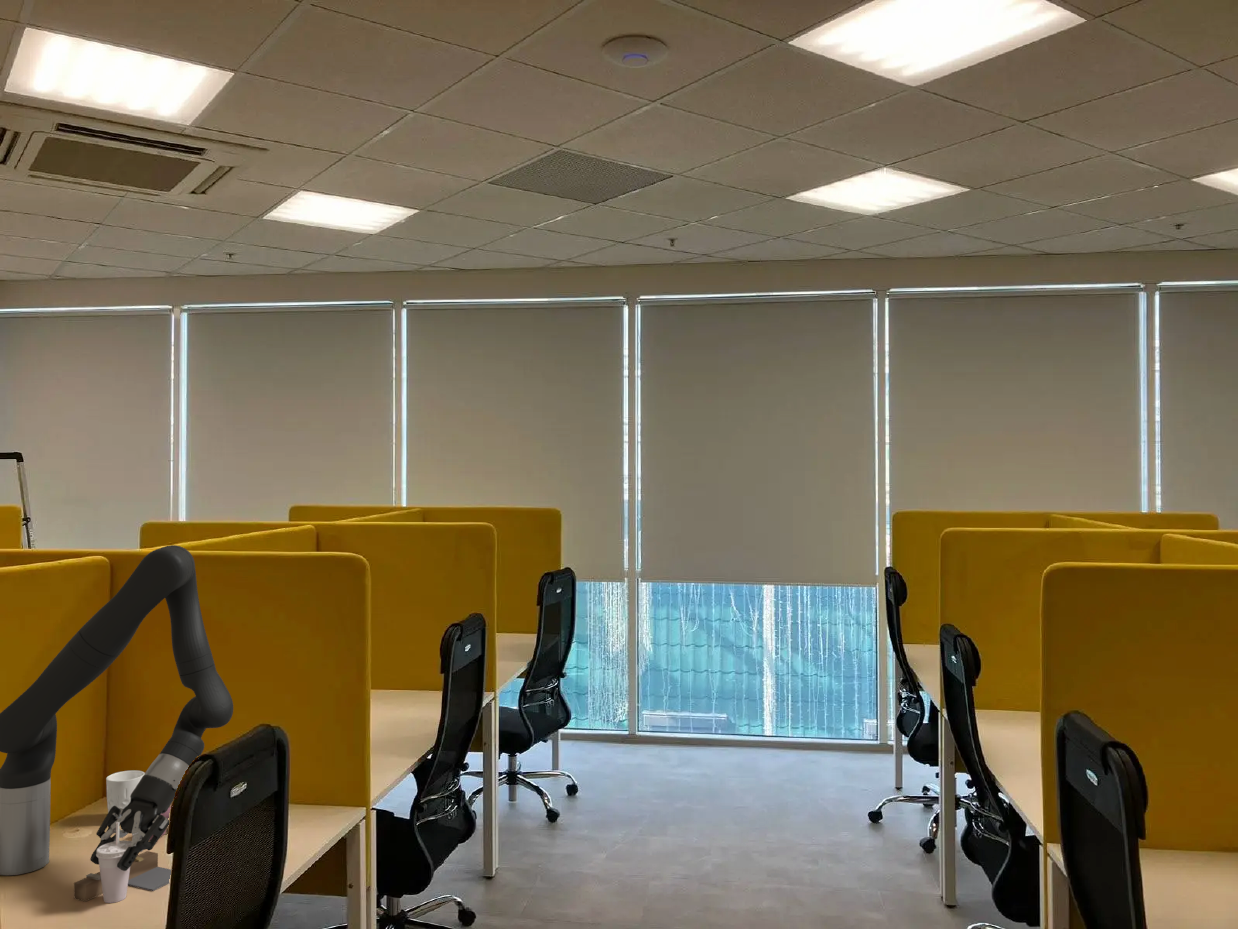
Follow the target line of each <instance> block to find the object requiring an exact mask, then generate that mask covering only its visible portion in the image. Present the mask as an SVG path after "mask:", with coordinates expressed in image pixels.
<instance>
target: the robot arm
mask: <svg viewBox="0 0 1238 929" xmlns="http://www.w3.org/2000/svg"><path fill="white" fill-rule="evenodd" d="M196 572H197V571H196V563H195V559H194V556H193V555H192V554H191V552H190V551H189V550H188V549H186V548H184V547H183V546H180V545H176V544H175V545H174V544H172V545H165V546H163V547H160V548H156V549H154V550H152V551H150V552H149V553H147V554H146V556H144V557H143V558H142V560H141V561H140V563H139V564H138V565H137V566H136V568H135V569H134V571H132V573H131V574H130V576H129V578H128V579H127V580H126V581H125V583H124V584H123V585H122V586H121V588H120V589H119V590H118V592H116V594H115V595H114V596H113V597H112V598H111V599H110V600H108V602H106V603H105V604H104V605H102V607H101V608H100V609H99V610H98V611H97V612H96V613H95V614H93V615H92V617H91V618H90V619H89V620H88V621H86V622H85V623H84V624H83V626H82V627H80V629H79V630H77V632H76V633H75V634H74V635H73V636H72V637H71V638H70V640H69V641H68V642H67V643H66V644H65V645H64V646H63V648H62V649H60V650H59V652H58V654H57V655H55V657H54V658H52V660H51V661H50V663H49V664H48V665H47V667H46V668H45V669H44V670H43V671H42V673H40V675H39V676H38V678H36V679H35V681H34V682H33V683H32V684H31V685H30V686H29V687H28V688H27V689H26V690H25V691H24V692H22V693H21V695H19V696H18V697H17V698H16V699H15V700H14V701H12V703H10V704H9V705H8V706H7V707H5V708H4V709H3V710H2V711H1V712H0V753H4V754H6V757H5V759H4V762H3V764H2V765H1V767H0V876H17V875H23V874H27V873H31V872H34V871H37V870H40V869H41V868H43V867H45V866H47V865H48V864H49V863H50V845H51V844H50V837H51V836H50V835H51V786H52V784H51V780H52V779H51V778H52V768H53V766H54V763H55V759H56V754H57V753H56V752H57V750H56V749H57V736H58V721H57V720H58V719H57V713H58V712H59V711H60V710H61V708H63V706H65V704H67V703H68V702H69V701H70V700H71V699H72V698H73V697H75V696H76V695H78V694H80V692H81V691H83V690H84V689H86V688H87V687H88V686H89V685H90V684H91V683H92V682H94V681H95V680H96V679H97V678H98V677H100V676H101V675H102V674H103V673H104V672H105V671H106V670H107V669H108V668H109V667H110V666H111V665H113V663H114V662H115V660H116V659H117V658H118V657H119V656H120V655H121V654H122V653H123V651H124V650H125V649H126V648H127V646H128V645H129V643H130V642H131V641H132V639H133V637H134V635H135V634H136V632H137V630H138V628H139V627H140V625H141V623H142V622H143V621H144V619H145V618H146V617H147V616H148V615H149V614H150V612H152V611H153V609H155V608H156V607H157V606H158V605H159V604H160V603H161V602H163V600H164V599H165V602H166V604H167V608H168V613H169V619H170V633H171V634H170V635H171V646H172V647H171V648H172V652H173V657H174V661H175V666H176V668H177V672H178V676H179V678H180V681H181V684H182V686H183V687H185V688H187V689H190V690H191V691H192V692H193V693H194V695H195V696H194V697H192V698H190V700H189V701H188V702H186V704H185V705H184V707H182V710H181V711H180V713H179V715H178V718H177V721H176V724H175V725H174V728H173V731H172V734H171V737H170V738H169V739H168V741H167V742H166V744H165V745H164V746H163V748H162V750H161V751H160V752H159V754H158V755H157V757H156V758H155V759H154V760H153V761H152V763H151V764H150V765H149V767H148V768H147V770H146V771H145V772H144V773H145V774H144V776H143V777H142V779H141V780H140V781H139V783H138V784H137V786H136V787H135V789H134V790H133V792H132V793H131V795H130V797H131V801H130V803H129V804H128V805H127V806H126V807H125V808H124V809H121V808H118V807H117V806H113V807H112V808H111V809H110V811H109V813H108V812H107V815H106V816H105V818H104V820H103V821H102V823H101V825H100V827H99V828H98V830H97V831H96V836H97V837H98V838H100V842H99V843H98V845H97V846H96V848H95V849H94V851H93V852H92V854H91V856H90V857H89V858H90V859H89V860H90V862H91V863H93V864H94V865H98V866H99V859H98V857H97V856H96V854H97V849H98V848H99V847H100V846H102V845H104V844H107V843H110V842H114V841H116V823H117V822H120V824H119V827H120V828H119V839H121V838H122V839H123V838H125V837H126V836H127V835H128V834H130V835H132V838H131V841H132V842H131V847H128V848H127V850H126V851H125V853H124V854H123V856H122V858H121V859H120V861H119V862H118V864H117V867H118V868H119V869H121V870H123V871H126V870H127V869H128V868H129V867H130V866H131V865H132V863H133V862H134V860H135V859H136V857H137V855H139V854H140V853H143V852H144V851H151V850H152V849H153V848H154V847H155V845H156V844H157V843H158V841H159V840H160V839H161V837H163V835H162V834H163V833H164V831H165V830H166V831H167V828H169V826H168V825H169V820H168V819H167V818H166V817H164V816H163V815H161V814H163V813H165V812H166V811H167V810H168V808H169V807H171V806H172V803H173V802H174V800H175V799H174V797H175V792H176V790H177V788H178V785H179V784H180V781H181V780H182V777H183V775H184V774H185V771H186V770H187V769H188V767H189V765H190V764H191V763H192V761H193V760H195V758H196V757H197V756H199V755H200V756H201V755H202V753H203V752H204V749H205V742H204V740H203V739H202V737H203V734H204V732H205V731H206V730H207V729H219V728H222V727H224V726H227V724H229V722H230V721H231V719H232V717H233V714H234V702H233V698H232V696H231V693H230V692H229V690H228V688H227V686H226V685H225V683H224V680H223V678H222V677H221V676H220V674H219V673H218V671H217V669H216V665H215V660H214V658H213V657H214V656H213V653H212V650H211V647H210V646H211V645H210V644H209V640H208V636H207V633H206V628H205V624H204V621H203V615H202V611H201V606H200V598H199V593H198V584H197V582H198V581H197V573H196ZM175 798H176V797H175ZM173 799H174V800H173ZM112 835H113V836H112ZM152 835H153V838H152V839H151V840H150V841H149V839H150V838H151V836H152ZM46 864H47V865H46Z"/></svg>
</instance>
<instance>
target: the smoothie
mask: <svg viewBox="0 0 1238 929" xmlns="http://www.w3.org/2000/svg"><path fill="white" fill-rule="evenodd" d="M119 824H120V822H117V823H116V833H115V834H116V841H114V842H110V843H107V844H104V845H102V846H100V847H99V848H98V849H97V854H96V856H97V857H98V859H99V865H98V866H99V872H100V875H101V883H102V891H103V894H102V896H103V897H102V898H103V902H104V903H106V904H112V903H118V902H121V901H123V900H125V899H126V898H127V893H128V887H129V885H128V880H129V873H130V867H129V868H128V869H127V870H126V871H123V870H121V869H119V868H118V867H117V864H118V862H119V861H120V859H121V858H122V856H123V854H124V853H125V851H126V850H127V848H128V847H131V842H132V840H125V839H124V840H120V838H119V829H120V826H119Z"/></svg>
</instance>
